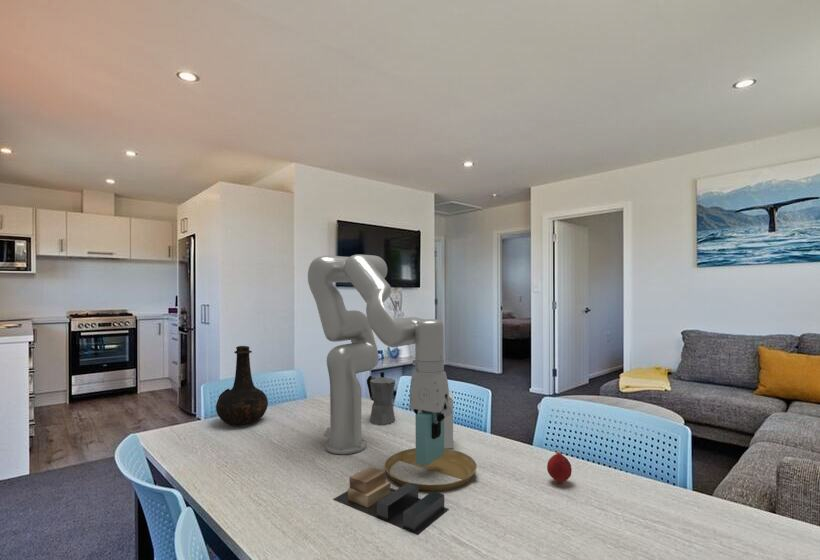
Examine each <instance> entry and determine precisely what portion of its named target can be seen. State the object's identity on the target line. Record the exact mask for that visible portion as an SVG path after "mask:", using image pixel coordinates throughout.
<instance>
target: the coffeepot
mask: <svg viewBox="0 0 820 560" xmlns="http://www.w3.org/2000/svg"><path fill="white" fill-rule="evenodd" d="M379 375H380V376H379V377H378V376H373V375H369V376H368V377H367V379H366V385H367V388H368V394H369V398H371V399H373V402H372V405H371V412H370V416H369V417H370V419H369V421H370V423H371V424H372V425H376V424H377V425H376V426H387V424H388V425H391V423H392V424H393V423H394V422H395V421H396V418H395V417H396V416H395V411H394V406H393V403H392V399H393V398H394V392H395V386H396V380H395V379H394V378H392V377H386V376H385V372H383V371H381V372H380V373H379Z"/></svg>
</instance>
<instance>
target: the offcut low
mask: <svg viewBox="0 0 820 560" xmlns="http://www.w3.org/2000/svg"><path fill="white" fill-rule="evenodd" d="M390 488H391V482H390V481H387V480H386V482H385V483H384V484H382V485H380V486H378V487H377V488H375V489H373V490H372V491H370V492H368V493H367V494H365V493H362V492H359V491H357V490H354V489H352V488H350V487H348V488H347V491H348V500H350V501H353V502H355V503H358V504H360V505H363V506H365V507H369V506H371V505H372V504H374V503H376V502H377V501H379V500H380V499H382V498H384V497H385V496H387V495H388V494H390Z"/></svg>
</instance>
